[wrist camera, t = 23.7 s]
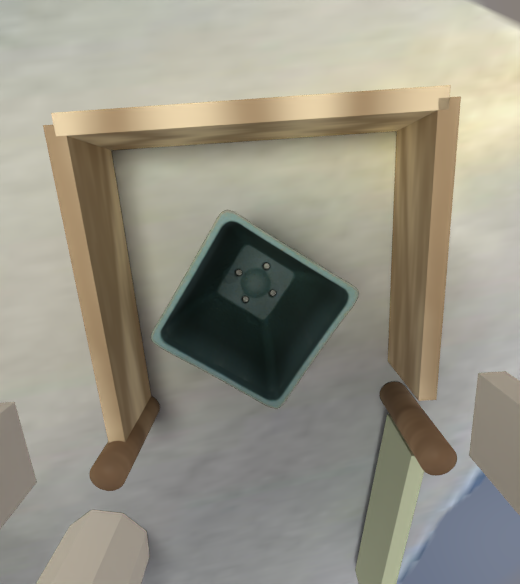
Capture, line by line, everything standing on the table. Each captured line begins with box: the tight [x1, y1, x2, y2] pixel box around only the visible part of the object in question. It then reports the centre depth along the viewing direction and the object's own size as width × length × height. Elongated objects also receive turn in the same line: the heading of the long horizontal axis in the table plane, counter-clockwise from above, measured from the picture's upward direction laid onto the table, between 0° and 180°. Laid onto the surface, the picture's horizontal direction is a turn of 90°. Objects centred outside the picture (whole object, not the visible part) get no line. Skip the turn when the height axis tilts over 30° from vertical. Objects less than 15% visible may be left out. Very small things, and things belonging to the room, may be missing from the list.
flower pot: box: [151, 210, 359, 409], centre depth 23 cm, size 9×9×9 cm
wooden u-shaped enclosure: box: [43, 85, 461, 491], centre depth 24 cm, size 24×24×8 cm
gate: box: [355, 414, 424, 584], centre depth 29 cm, size 18×2×7 cm, turn 175°
